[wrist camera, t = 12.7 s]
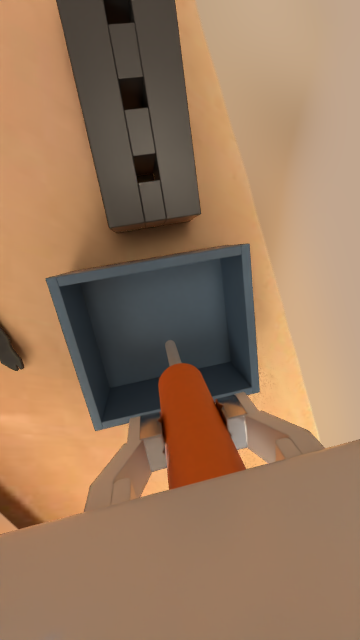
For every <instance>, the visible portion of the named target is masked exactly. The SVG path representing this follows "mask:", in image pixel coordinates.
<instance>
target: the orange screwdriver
mask: <svg viewBox="0 0 360 640" xmlns="http://www.w3.org/2000/svg"><path fill="white" fill-rule="evenodd" d="M165 348H166V352H167V357H168V361H169V366H170V367H168V368H167V369H166V370H165V371H164V372H163V373H162V375H161V376H160V379H159V383H158V387H159V397H160V406H161V416H162V422H163V433H164V441H165V454H166V464H167V473H168V483H169V490H170V489H174V488H178V487H182V486H186V485H189V484H193V483H197V482H201V481H204V480H208V479H212V478H216V477H219V476H223V475H227V474H231V473H234V472H238V471H242V470H246V468H245V466H244V464H243V462H242V460H241V457H240V455H239V453H238V451H237V449H236V447H235V445H234V442H233V440H232V438H231V436H230V434H229V432H228V430H227V428H226V425H225V423H224V421H223V419H222V417H221V415H220V413H219V410H218V408H217V406H216V404H215V402H214V400H213V398H212V396H211V393H210V391H209V389H208V387H207V385H206V383H205V381H204V378H203V376H202V374H201V372H200V371H199V370H198V369H197V368H196V367H195V366H193V365H191V364H187V363H182V362H181V360H180V357H179V354H178V351H177V348H176V345H175V342H174V341H172V340H168V341H167V342H166V343H165Z"/></svg>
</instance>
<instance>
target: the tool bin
mask: <svg viewBox="0 0 360 640" xmlns="http://www.w3.org/2000/svg"><path fill="white" fill-rule="evenodd" d="M46 282H47V285H48V288H49V291H50V294H51V297H52V300H53V303H54V306H55V309H56V312H57V315H58V319H59V322H60V325H61V328H62V331H63V334H64V337H65V340H66V343H67V346H68V349H69V352H70V355H71V358H72V361H73V365H74V368H75V371H76V374H77V377H78V380H79V383H80V386H81V389H82V392H83V395H84V398H85V401H86V404H87V407H88V411H89V414H90V417H91V420H92V423H93V426H94V429H95V431H98V430H102V429H106V428H110V427H114V426H118V425H123V424H127V423H129V420H130V418H134V417H138V416H142V415H147V414H152V413H157V412H161V406H160V397H159V387H158V383H159V379H160V376H161V375H162V373H163V372H164V371H165V370H166V369H167V368H168V367H170V366H169V361H168V357H167V352H166V348H165V343H166V342H167V341H168V340H172V341H174V342H175V345H176V348H177V351H178V354H179V357H180V360H181V362H182V363H187V364H191V365H193V366H195V367H196V368H197V369H198V370H199V371H200V372H201V374H202V376H203V378H204V381H205V383H206V385H207V387H208V389H209V391H210V393H211V396H212V398H213V400H214V402H215V399H218V398H222V397H226V396H230V395H234V394H237V393H241V392H245V393H246V394H247V395H250V394H254V393H258V392H260V388H259V374H258V359H257V345H256V330H255V316H254V301H253V287H252V272H251V258H250V244H238V245H225V246H219V247H213V248H207V249H201V250H195V251H189V252H183V253H177V254H172V255H166V256H160V257H154V258H148V259H142V260H136V261H130V262H125V263H119V264H113V265H107V266H101V267H95V268H89V269H83V270H78V271H72V272H68V273H64V274H60V275H56V276H53V277H49V278H46Z"/></svg>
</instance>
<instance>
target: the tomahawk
mask: <svg viewBox="0 0 360 640" xmlns="http://www.w3.org/2000/svg"><path fill="white" fill-rule="evenodd" d="M0 362H1V363H2V364H4V365H5V366H7V367H9V368H10V369H12V370H15V371H18V370H19V368H20V369H23V368H24V364H23V362H22V359H21V357H20V356H19V355H18V354H17V353H16V351H15V350H14V349H13V347H12V345H11V342H10V339H9V337H8V335H7V334H6V333H5V332H4V330H3V329H2V328H1V327H0ZM18 367H19V368H18Z"/></svg>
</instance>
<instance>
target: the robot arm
mask: <svg viewBox="0 0 360 640" xmlns="http://www.w3.org/2000/svg"><path fill="white" fill-rule="evenodd" d="M215 403H216V406H217V408H218V410H219V413H220V415H221V417H222V419H223V421H224V423H225V425H226V428H227V430H228V432H229V434H230V436H231V438H232V440H233V442H234V445H235V447H236V449H237V450H239V449H243V448H248V449H250V450H251V451H252V452H254V453H255V454H257V455H258V456H259V457H261V458H262V459H263V460H265V461H266V462H267V463H269V464H265V465H261V466H257V467H253V468H250V469H246V470H242V471H238V472H234V473H231V474H227V475H223V476H219V477H216V478H212V479H208V480H204V481H201V482H197V483H193V484H189V485H186V486H182V487H178V488H174V489H170V490H167V491H163V492H159V493H155V494H151V495H148V496H144V497H140V496H141V494H142V492H143V490H144V488H145V486H146V484H147V482H148V480H149V477H150V475H151V472H153V471H157V470H160V469H164V468H167V464H166V454H165V441H164V433H163V422H162V416H161V412H157V413H152V414H147V415H142V416H138V417H134V418H130V420H129V430H128V441H127V443H126V444H124V445H123V446H122V447H121V449H120V450H119V451H118V452H117V453H116V455H115V456H114V457H113V458H112V460H111V461H110V462H109V463H108V465H107V466H106V467H105V468H104V470H103V471H102V472H101V473H100V474H99V476H98V477H97V478H96V479H95V481H94V482H93V483H92V484H91V486H90V488H89V492H88V497H87V501H86V505H85V509H84V512H83V513H79V514H76V515H72V516H68V517H64V518H61V519H57V520H53V521H49V522H45V523H42V524H38V525H34V526H30V527H26V528H23V529H19V530H15V531H11V532H7V533H4V534H0V640H360V439H359V440H356V441H352V442H348V443H344V444H340V445H337V446H333V447H329V448H324V447H323V445H322V444H321V443H320V442H319V441H318V440H317V439H316V438H315V437H314V436H313V435H312V434H311V432H310V431H308V430H306V429H304V428H301V427H299V426H297V425H294V424H292V423H290V422H287V421H285V420H282V419H280V418H278V417H275V416H273V415H271V414H268V413H266V412H264V411H258V409H257V408H256V407H255V405H254V404H253V403H252V401H251V400H250V399H249V397H248V396H247V394H246V393H245V392H241V393H237V394H234V395H230V396H226V397H222V398H218V399H215Z"/></svg>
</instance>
